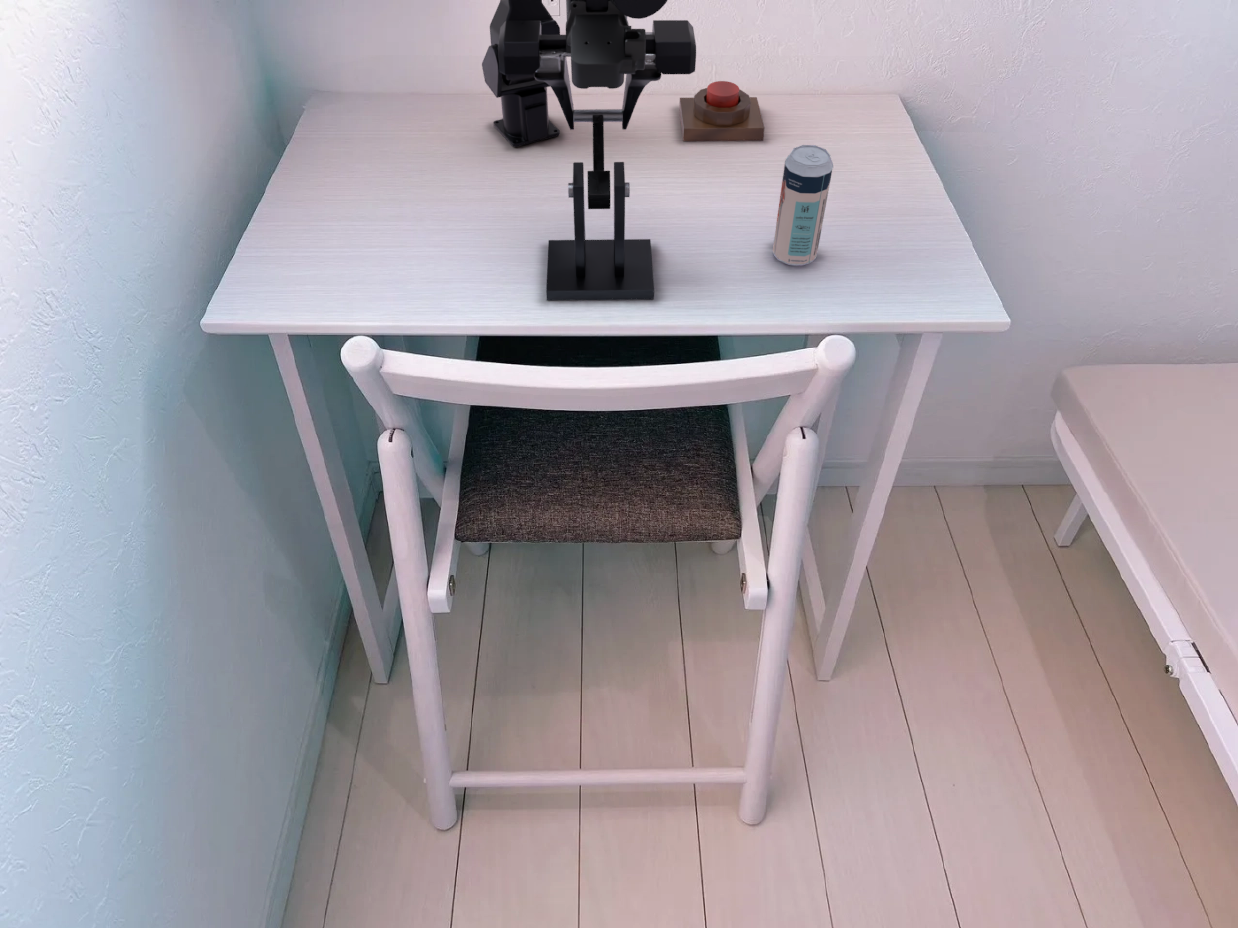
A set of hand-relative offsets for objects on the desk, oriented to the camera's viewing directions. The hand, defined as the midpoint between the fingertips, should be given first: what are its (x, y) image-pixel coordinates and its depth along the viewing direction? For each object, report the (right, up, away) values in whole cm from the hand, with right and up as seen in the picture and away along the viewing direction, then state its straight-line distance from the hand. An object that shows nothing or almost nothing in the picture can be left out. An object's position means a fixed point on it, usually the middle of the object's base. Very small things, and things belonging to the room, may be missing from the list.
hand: (597, 127), depth 101 cm
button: (+15, +11, +22) cm, 29 cm away
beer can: (+21, -12, +5) cm, 25 cm away
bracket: (0, -14, +3) cm, 15 cm away
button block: (+15, +9, +24) cm, 30 cm away
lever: (0, -4, -2) cm, 5 cm away
